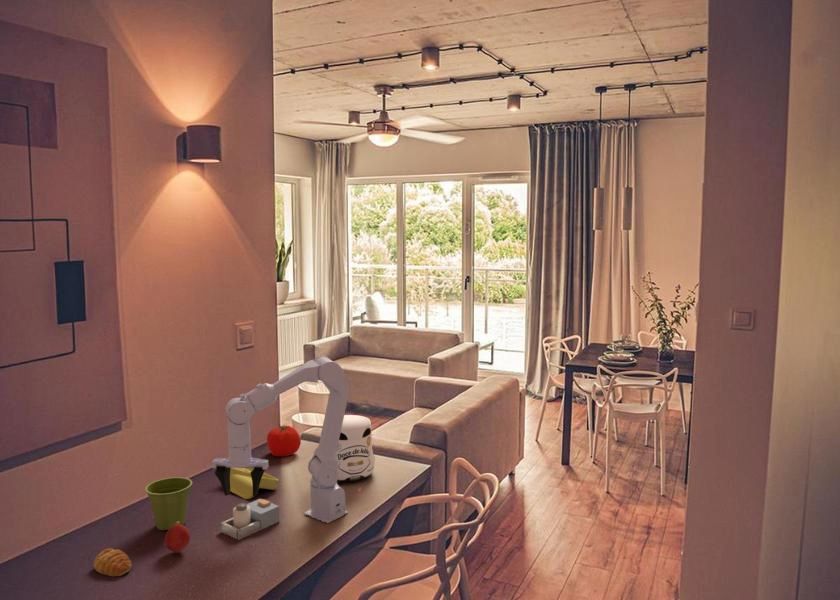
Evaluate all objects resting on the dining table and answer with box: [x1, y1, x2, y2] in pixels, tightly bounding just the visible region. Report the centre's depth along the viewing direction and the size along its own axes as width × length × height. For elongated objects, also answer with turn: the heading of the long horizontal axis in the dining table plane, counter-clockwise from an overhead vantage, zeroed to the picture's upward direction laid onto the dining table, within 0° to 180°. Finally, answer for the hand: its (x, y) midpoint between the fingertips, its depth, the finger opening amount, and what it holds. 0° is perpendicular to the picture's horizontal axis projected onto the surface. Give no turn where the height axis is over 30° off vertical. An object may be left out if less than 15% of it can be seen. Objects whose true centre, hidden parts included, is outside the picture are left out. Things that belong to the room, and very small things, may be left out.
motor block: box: [246, 498, 280, 529], centre depth 172 cm, size 8×6×5 cm
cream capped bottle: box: [232, 502, 251, 529], centre depth 167 cm, size 4×4×7 cm
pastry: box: [92, 548, 133, 577], centre depth 148 cm, size 9×7×4 cm
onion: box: [164, 522, 191, 554], centre depth 156 cm, size 6×6×8 cm
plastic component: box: [230, 468, 280, 500], centre depth 196 cm, size 20×7×10 cm
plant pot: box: [144, 476, 193, 531], centre depth 170 cm, size 12×12×11 cm
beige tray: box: [219, 516, 261, 541], centre depth 167 cm, size 8×8×2 cm
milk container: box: [337, 414, 376, 483], centre depth 204 cm, size 17×17×18 cm
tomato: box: [266, 424, 302, 457], centre depth 223 cm, size 11×13×10 cm
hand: (241, 494), depth 167 cm, fingers open, 7 cm apart
